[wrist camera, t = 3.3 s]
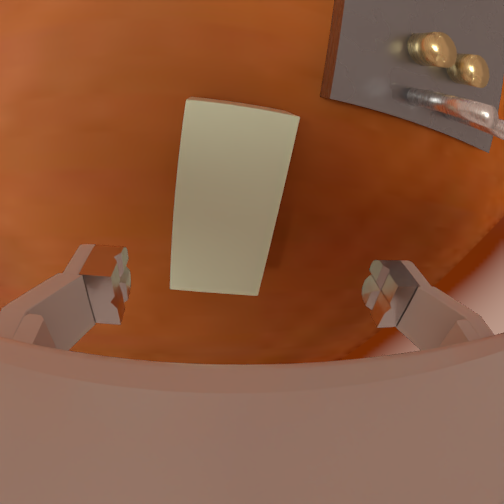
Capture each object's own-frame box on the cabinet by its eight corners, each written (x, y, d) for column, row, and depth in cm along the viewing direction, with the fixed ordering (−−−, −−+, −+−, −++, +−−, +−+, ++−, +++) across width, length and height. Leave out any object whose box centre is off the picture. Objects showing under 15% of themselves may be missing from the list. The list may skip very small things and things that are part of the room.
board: (251, 264, 20) (257, 295, 17) (174, 257, 19) (169, 289, 16) (284, 110, 15) (300, 117, 12) (191, 96, 14) (186, 99, 11)
